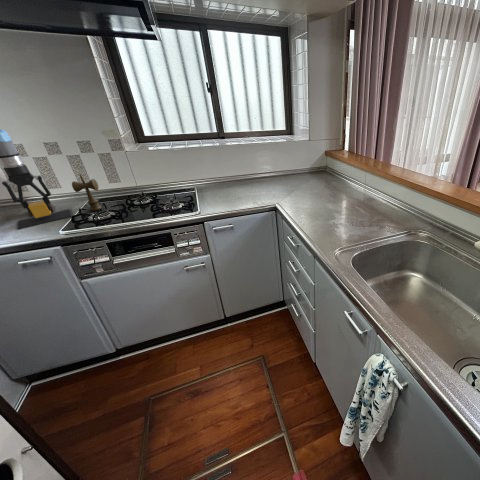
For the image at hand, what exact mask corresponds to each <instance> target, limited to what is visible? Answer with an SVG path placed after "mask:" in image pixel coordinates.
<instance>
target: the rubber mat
mask: <svg viewBox="0 0 480 480" xmlns="http://www.w3.org/2000/svg"><path fill="white" fill-rule="evenodd" d="M67 218H72V213H71V210H70V209H64V210H60V211H54V212H51V215H47V216H43V217H39V218H35V217H34V216H32V217H29V218H24V219H23V218H22V219H20V220H18V222H17V230H21V229H26V228H29V227H35V226H37V225H38V226H39V225H43V224H47V223H51V222H56V221H59V220H64V219H67Z"/></svg>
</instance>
